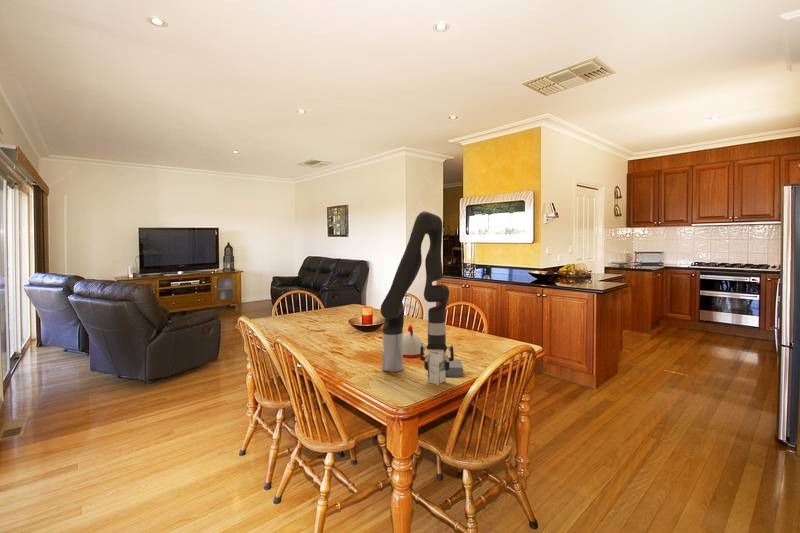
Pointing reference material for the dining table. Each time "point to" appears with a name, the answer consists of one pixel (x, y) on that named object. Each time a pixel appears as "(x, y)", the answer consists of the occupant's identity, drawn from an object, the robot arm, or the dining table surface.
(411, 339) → the kitchen timer
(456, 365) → the grey block
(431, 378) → the syrup box
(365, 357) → the dining table surface
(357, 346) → the dining table surface
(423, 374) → the dining table surface
